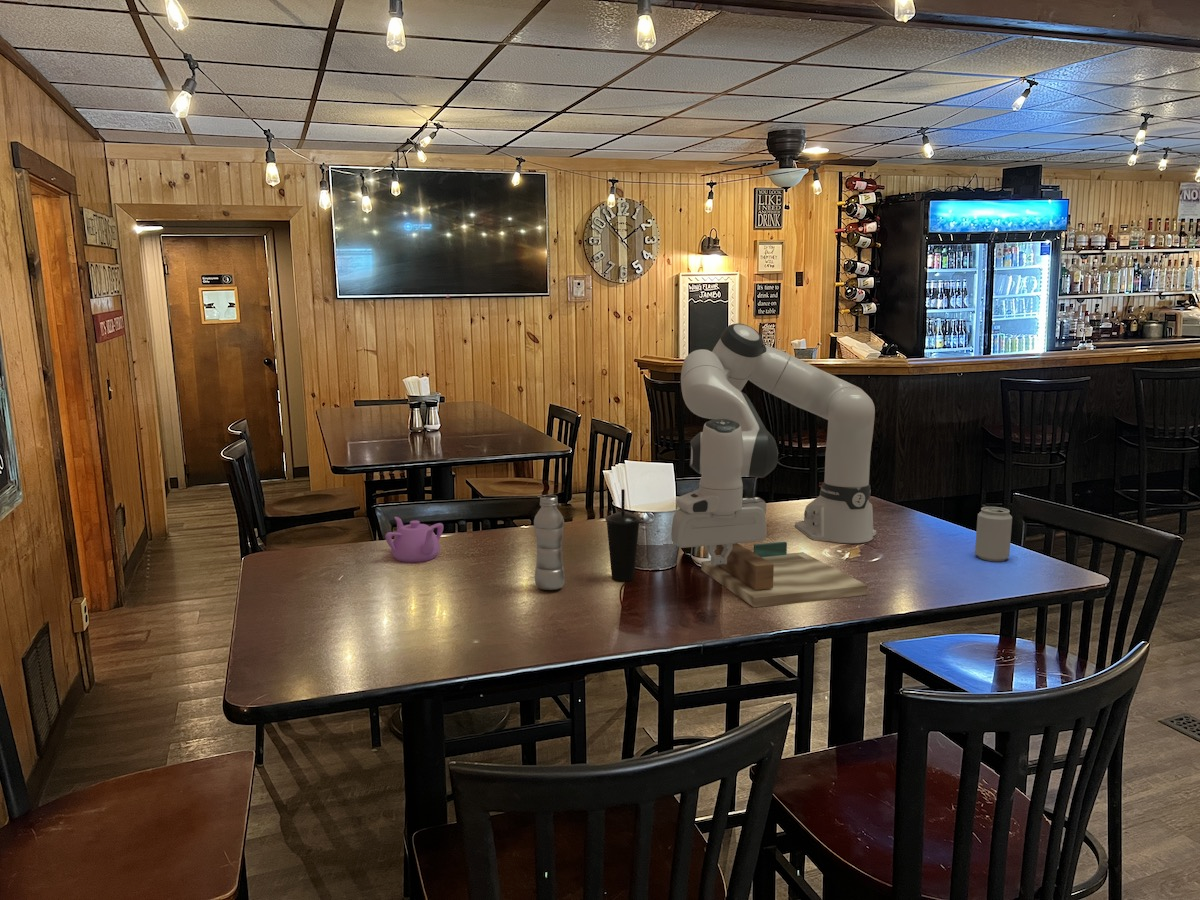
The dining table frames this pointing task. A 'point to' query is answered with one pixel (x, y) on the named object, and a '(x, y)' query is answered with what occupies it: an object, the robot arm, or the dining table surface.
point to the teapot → (414, 541)
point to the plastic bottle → (549, 544)
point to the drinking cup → (622, 542)
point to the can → (993, 534)
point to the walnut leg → (748, 567)
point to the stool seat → (790, 579)
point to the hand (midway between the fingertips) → (718, 564)
